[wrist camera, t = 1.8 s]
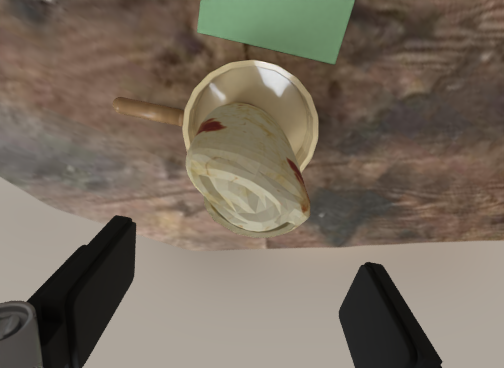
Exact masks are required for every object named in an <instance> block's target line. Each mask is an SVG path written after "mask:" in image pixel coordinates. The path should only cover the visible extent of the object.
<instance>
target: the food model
mask: <svg viewBox="0 0 504 368" xmlns="http://www.w3.org/2000/svg"><path fill="white" fill-rule="evenodd" d="M186 168H187V173H188V176H189V177H190V179H191V181H192V183H193V185H194V186H195V187H196V188H197V189H198V190H199V191H200V192H201V193H202V194H203V195H204V204H205V207H206V209H207V211H208V212H209V214H210V215H211V217H212V218H213V220H214V221H216V222H217V223H219V224H221V225H222V226H224V227H226V228H227V229H229V230H231V231H232V232H234V233H236V234H240V235H244V236H249V237H254V238H269V237H273V236H278V235H281V234H284V233H287V232H289V231H291V230H294V229H295V228H296V227H298V226H299V225H300V224H302V223H303V222H304V221H305V220H307V219H308V218H309V216H310V200H309V197H308V194H307V191H306V189H305V185H304V181H303V178H302V174H301V171H300V167H299V165H298V162H297V160H296V157H295V155H294V152H293V150H292V147H291V145H290V142H289V140H288V138H287V136H286V135H285V133H284V132H283V130H282V129H281V127H280V126H279V125H278V124H277V122H276V121H275V120H274V119H273V117H272V116H270V115H269V114H268V113H266V112H265V111H264V110H262V109H261V108H258V107H256V106H254V105H252V104H248V103H238V102H233V103H229V104H225V105H222V106H219V107H217V108H215V109H214V110H213V111H212V112H210V113H209V114H208V115H207V116H206V118H205V119H204V120H203V122H202V123H201V125H200V127H199V129H198V131H197V133H196V135H195V137H194V139H193V141H192V143H191V145H190V148H189V150H188V152H187V157H186Z"/></svg>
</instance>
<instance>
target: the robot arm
mask: <svg viewBox="0 0 504 368" xmlns="http://www.w3.org/2000/svg"><path fill="white" fill-rule="evenodd" d="M135 243H136V223H135V222H132V219H131V218H129V217H123V216H118V215H116V216H114V217H113V218H112V219H111V220H110V221H109V222H108V223H107V225H106V226H105V227H104V228H103V229H102V230H101V231H100V232H99V233H98V234H97V235H96V236H95V238H93V239H92V241H91V242H90V243H89V244H88V245H82V246H81V247H79V248H78V249H77V250H76V251H75V252H74V253H73V254H72V255H71V256H70V257H69V258H68V259H67V260H66V262H65V263H64V264H63V265H62V266H61V267H60V268H59V269H58V270H57V271H56V272H55V273H54V274H53V275H52V276H51V277H50V278H49V279H48V280H47V281H46V282H45V283H44V284H43V285H42V286H41V287H40V288H39V289H38V290H37V291H36V293H34V294H33V295H32V296H31V298H29V299H28V301H27V302H24V301H9V302H4V303H0V368H82V367H83V366H84V364H85V363H86V361H87V359H88V357H89V356H90V354H91V352H92V351H93V349H94V347H95V345H96V344H97V342H98V340H99V338H100V337H101V335H102V333H103V331H104V330H105V328H106V326H107V324H108V323H109V321H110V320H111V318H112V316H113V314H114V313H115V311H116V309H117V307H118V306H119V304H120V302H121V300H122V298H123V297H124V295H125V293H126V291H127V290H128V288H129V287H130V285H131V283H132V281H133V278H134V269H135ZM339 319H340V322H341V325H342V328H343V331H344V334H345V338H346V341H347V344H348V347H349V350H350V353H351V357H352V359H353V363H354V366H355V368H442V367H441V363H442V360H441V359H440V357H439V355H438V354H437V352H436V351H435V349H434V347H433V346H432V344H431V342H430V341H429V339H428V338H427V336H426V334H425V333H424V331H423V330H422V328H421V326H420V325H419V323H418V322H417V320H416V319H415V317H414V315H413V313H412V312H411V310H410V309H409V307H408V305H407V304H406V302H405V301H404V299H403V297H402V296H401V294H400V292H399V291H398V289H397V288H396V286H395V284H394V283H393V282H392V280H391V278H390V276H389V275H388V273H387V271H386V270H385V268H384V267H383V266H382V265H381V264H376V263H371V262H366V263H365V264H364V265H361V267H360V268H359V270H358V273H357V274H356V276H355V278H354V280H353V283H352V285H351V287H350V289H349V291H348V293H347V295H346V297H345V299H344V301H343V303H342V305H341V307H340V310H339Z"/></svg>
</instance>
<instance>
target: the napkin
mask: <svg viewBox="0 0 504 368" xmlns="http://www.w3.org/2000/svg"><path fill="white" fill-rule="evenodd" d="M354 1H355V0H201V1H200V10H199V20H198V29H197V32H198V33H202V34H207V35H211V36H215V37H219V38H224V39H228V40H232V41H236V42H240V43H245V44H249V45H253V46H257V47H262V48H266V49H270V50H274V51H279V52H283V53H287V54H291V55H295V56H300V57H304V58H308V59H312V60H317V61H321V62H325V63H329V64H334V65H335V62H336V59H337V56H338V53H339V49H340V46H341V43H342V40H343V36H344V33H345V30H346V27H347V24H348V20H349V17H350V14H351V11H352V8H353V4H354Z"/></svg>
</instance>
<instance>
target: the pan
mask: <svg viewBox="0 0 504 368" xmlns="http://www.w3.org/2000/svg"><path fill="white" fill-rule="evenodd" d="M233 102H238V103H248V104H252V105H254V106H256V107H258V108H261V109H262V110H264V111H265V112H266V113H268V114H269V115H270V116H272V117H273V119H274V120H275V121H276V122H277V124H278V125H279V126H280V127H281V129H282V130H283V132H284V133H285V135H286V136H287V138H288V140H289V142H290V145H291V147H292V150H293V152H294V155H295V157H296V160H297V162H298V165H299V167H300V171H301V172H302V171H303V170H304V168H305V167H306V165H307V164H308V163H309V161H310V160H311V158H312V156H313V153H314V150H315V147H316V144H317V140H318V115H317V112H316V109H315V106H314V103H313V100H312V97H311V95H310V94H309V92H308V91H307V90H306V88H305V87H304V86H303V85H302V83H301V82H300V81H299V79H298V78H297V77H295V76H294V75H292V74H291V73H289V72H288V71H286V70H284V69H283V68H281V67H280V66H278V65H276V64H271V63H267V62H263V61H258V60H246V61H238V62H231V63H228V64H226V65H224V66H222V67H220V68H218V69H216V70H214V71H212V72H210V73H209V74H208V75H207V76H206V77H205V78H204V79H203V80H202V81H201V82H200V83H199V84H198V85H197V86H196V88H195V89H194V90H193V92H192V94H191V97H190V99H189V101H188V103H187V105H186V107H185V110H184V120H183V136H184V141H185V145H186V150H187V152H188V150H189V148H190V145H191V143H192V141H193V139H194V137H195V135H196V133H197V131H198V129H199V127H200V125H201V123H202V122H203V120H204V119H205V118H206V116H207V115H208V114H209V113H210V112H212V111H213V110H214V109H215V108H217V107H219V106H222V105H225V104H229V103H233Z"/></svg>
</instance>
